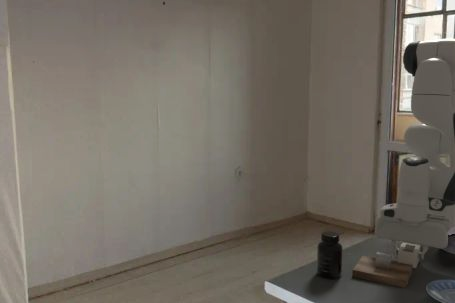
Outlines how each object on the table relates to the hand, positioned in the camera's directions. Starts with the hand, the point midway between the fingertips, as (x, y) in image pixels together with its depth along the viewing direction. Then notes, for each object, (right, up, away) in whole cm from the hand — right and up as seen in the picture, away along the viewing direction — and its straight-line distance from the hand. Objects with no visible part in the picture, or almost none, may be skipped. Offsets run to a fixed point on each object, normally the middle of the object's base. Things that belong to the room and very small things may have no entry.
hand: (408, 256), depth 136 cm
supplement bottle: (-26, -3, -9) cm, 28 cm away
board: (-11, -3, -9) cm, 14 cm away
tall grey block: (-11, -1, -9) cm, 14 cm away
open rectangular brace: (0, -2, 0) cm, 2 cm away
